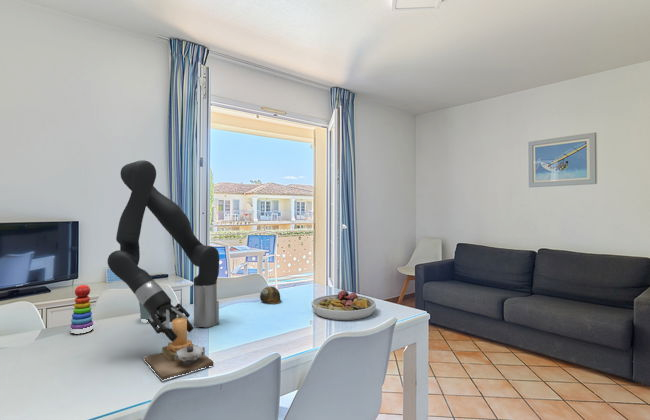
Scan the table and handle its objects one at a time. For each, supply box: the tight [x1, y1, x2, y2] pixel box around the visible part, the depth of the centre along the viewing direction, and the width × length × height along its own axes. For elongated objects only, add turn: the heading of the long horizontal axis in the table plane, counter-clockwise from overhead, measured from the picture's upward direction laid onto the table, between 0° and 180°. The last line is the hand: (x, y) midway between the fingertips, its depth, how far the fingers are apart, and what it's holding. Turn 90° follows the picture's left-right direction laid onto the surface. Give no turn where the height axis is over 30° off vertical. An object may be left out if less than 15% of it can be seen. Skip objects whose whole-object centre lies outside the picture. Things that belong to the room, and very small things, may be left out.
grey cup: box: [138, 301, 151, 320], centre depth 155 cm, size 10×10×12 cm
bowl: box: [311, 289, 377, 321], centre depth 167 cm, size 30×30×8 cm
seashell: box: [259, 285, 282, 305], centre depth 185 cm, size 11×9×8 cm
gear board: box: [143, 343, 214, 380], centre depth 111 cm, size 15×18×6 cm
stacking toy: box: [70, 284, 94, 329], centre depth 141 cm, size 8×8×19 cm
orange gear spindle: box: [166, 318, 193, 353], centre depth 115 cm, size 8×8×11 cm
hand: (183, 334), depth 115 cm, fingers open, 8 cm apart
